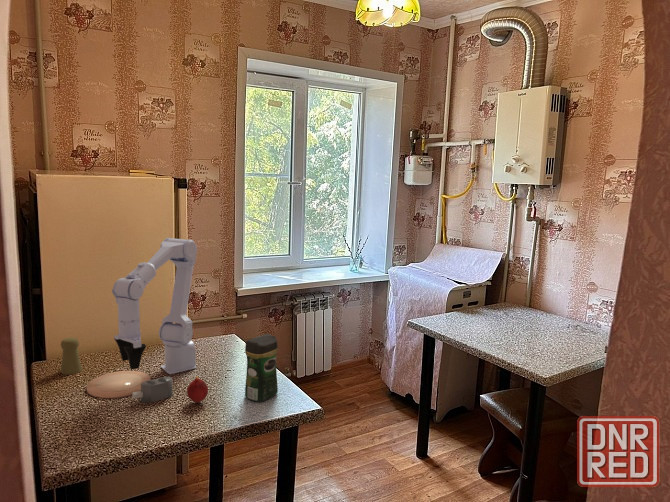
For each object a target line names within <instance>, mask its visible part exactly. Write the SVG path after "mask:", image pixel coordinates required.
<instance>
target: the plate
mask: <svg viewBox="0 0 670 502" xmlns="http://www.w3.org/2000/svg"><path fill="white" fill-rule="evenodd" d="M149 380H152V379H151V377H150V375H149V374H147V373H146V372H143V371H137V370H122V371H121V370H120V371H114V372H109V373H105V374H102V375H100V376H98V377H94V378H93V379H91V380H90V381H89V382H88V383H87V385H86V393H88V394H89V396H92V397H95V398H99V399H118V398H125V397H129V396H132V393H134V392H138V391H141V383H143V382H145V381H149Z"/></svg>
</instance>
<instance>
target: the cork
mask: <svg viewBox="0 0 670 502" xmlns="http://www.w3.org/2000/svg"><path fill="white" fill-rule="evenodd" d="M79 345H80V341H79V339H78V337H77V338H76V337H66V338H63V339H62V340H61V342H60V348H61V349H62V356H61V357H62V358H61V368H60V373H61V374H62V375H67V376H68V375H74V374H79V373H80V372H81V371H82V364H81V360H80V354H79V350H78V347H79Z"/></svg>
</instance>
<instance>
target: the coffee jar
mask: <svg viewBox="0 0 670 502" xmlns="http://www.w3.org/2000/svg"><path fill="white" fill-rule="evenodd" d="M278 348H279V346H278V339H277V337H276V336H275V335H272V334H269V333H265V334H262V335H259V336H256V337H253V338H250V339H247V340H246V341H245V348H244V353H245V356H246V377H245V388H244V396H245V398H247V399H248V400H250V401H252V402H260V403H261V402H262V403H263V402H264V401H267V400H269V399H272V398H273V397H276V395H277V394H278V392H279V391H278V390H279V388H278V377H277V375H278V374H277V354H278Z"/></svg>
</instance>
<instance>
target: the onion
mask: <svg viewBox="0 0 670 502" xmlns="http://www.w3.org/2000/svg"><path fill="white" fill-rule="evenodd" d="M186 393H187V397H188V399H190V400H191V401H192V402H194V403H196V404H199V403H201V402H202V401H204V400H205V399H206V398H207V396H208V393H209V387H208V384H207V383H206V382H205V381H204V380H203V379H201V378H199V376H198V375H197V376H195V378H194V379H193V380H192V381H191V382H190V383H189V385H188V386H187V389H186Z"/></svg>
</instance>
